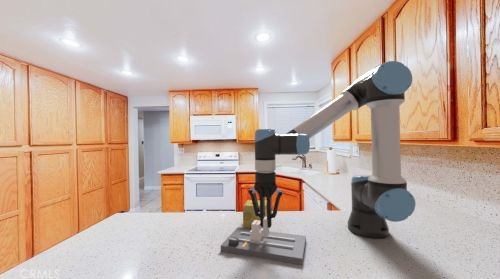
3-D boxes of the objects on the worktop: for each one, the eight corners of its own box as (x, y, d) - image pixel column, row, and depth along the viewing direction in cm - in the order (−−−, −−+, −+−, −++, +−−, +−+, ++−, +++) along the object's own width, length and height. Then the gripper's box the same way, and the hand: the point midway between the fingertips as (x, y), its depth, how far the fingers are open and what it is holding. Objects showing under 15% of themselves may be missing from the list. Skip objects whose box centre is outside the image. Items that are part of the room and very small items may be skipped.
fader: (263, 236, 80) (263, 220, 80) (260, 241, 76) (260, 224, 76) (253, 235, 81) (253, 219, 81) (250, 240, 77) (249, 223, 77)
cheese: (266, 230, 91) (265, 206, 91) (241, 228, 93) (241, 205, 93) (268, 220, 101) (268, 199, 101) (246, 219, 104) (246, 199, 104)
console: (305, 241, 81) (305, 231, 81) (302, 265, 65) (302, 253, 65) (237, 231, 89) (237, 223, 89) (220, 251, 74) (220, 240, 74)
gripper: (284, 170, 79) (285, 233, 79) (251, 169, 83) (252, 229, 83) (281, 173, 71) (282, 243, 72) (245, 172, 76) (245, 237, 76)
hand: (266, 235), depth 77 cm, fingers closed
